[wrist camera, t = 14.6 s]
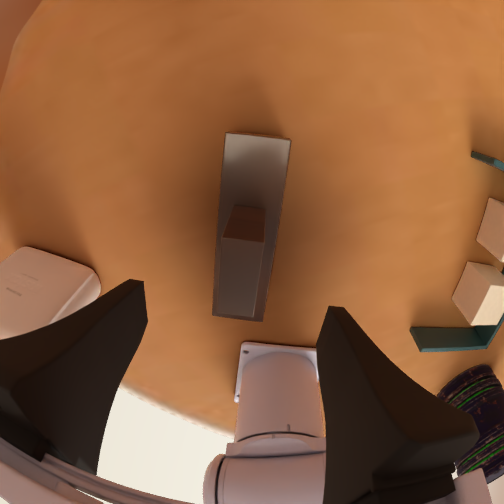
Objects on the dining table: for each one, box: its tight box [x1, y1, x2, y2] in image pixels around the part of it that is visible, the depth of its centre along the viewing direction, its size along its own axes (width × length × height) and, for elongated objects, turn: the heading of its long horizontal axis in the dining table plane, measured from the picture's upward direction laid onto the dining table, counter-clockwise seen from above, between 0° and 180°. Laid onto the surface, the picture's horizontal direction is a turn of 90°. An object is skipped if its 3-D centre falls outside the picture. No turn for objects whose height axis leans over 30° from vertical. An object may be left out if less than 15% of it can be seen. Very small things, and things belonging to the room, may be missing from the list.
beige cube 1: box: [452, 262, 504, 325], centre depth 20 cm, size 4×4×4 cm
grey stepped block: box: [212, 131, 291, 322], centre depth 17 cm, size 12×4×8 cm, turn 174°
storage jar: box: [437, 364, 504, 484], centre depth 22 cm, size 10×10×15 cm
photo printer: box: [0, 247, 101, 340], centre depth 18 cm, size 10×4×12 cm, turn 76°
